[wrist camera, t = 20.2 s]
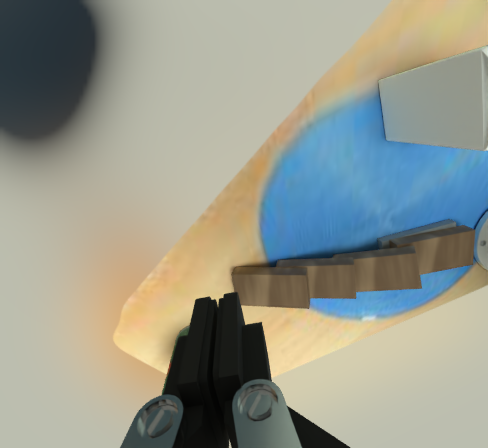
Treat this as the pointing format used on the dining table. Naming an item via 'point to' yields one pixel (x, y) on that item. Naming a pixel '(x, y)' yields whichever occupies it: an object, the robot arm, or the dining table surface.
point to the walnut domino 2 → (327, 276)
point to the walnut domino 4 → (440, 248)
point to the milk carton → (439, 102)
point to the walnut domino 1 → (272, 286)
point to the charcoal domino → (415, 232)
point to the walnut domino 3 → (385, 269)
